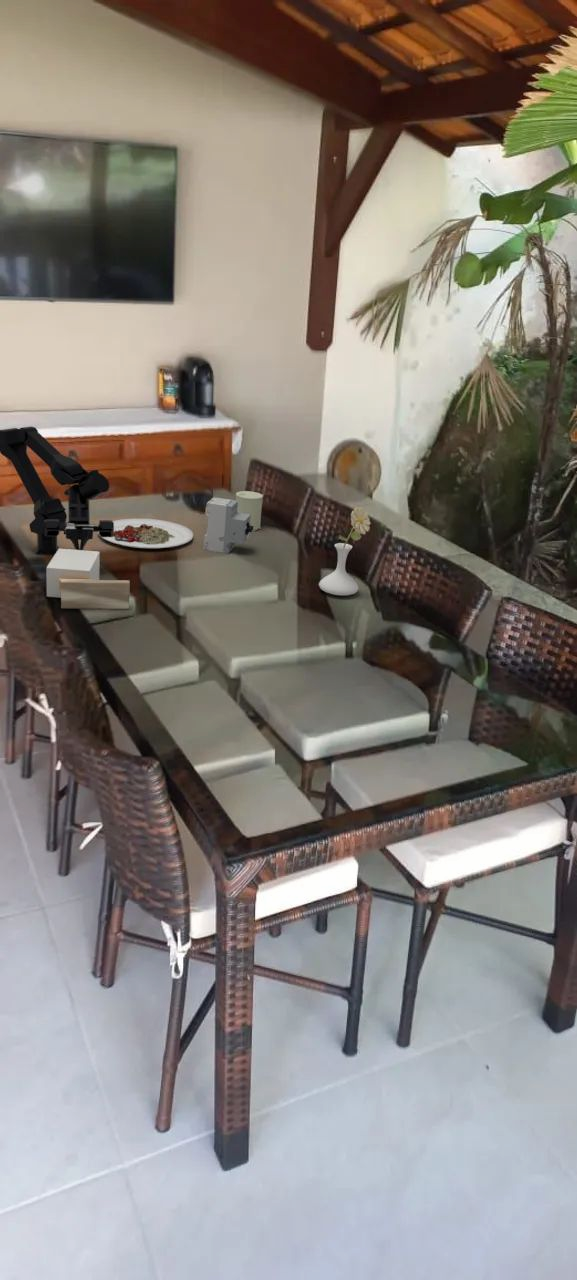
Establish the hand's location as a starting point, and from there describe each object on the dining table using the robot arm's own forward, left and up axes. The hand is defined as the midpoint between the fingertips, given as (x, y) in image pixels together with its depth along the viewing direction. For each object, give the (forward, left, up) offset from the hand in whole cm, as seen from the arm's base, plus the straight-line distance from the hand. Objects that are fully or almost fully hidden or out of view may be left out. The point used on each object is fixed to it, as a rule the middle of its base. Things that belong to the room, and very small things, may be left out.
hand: (79, 556), depth 253 cm
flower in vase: (+9, +73, -6) cm, 74 cm away
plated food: (-38, +21, -6) cm, 44 cm away
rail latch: (+18, -1, -3) cm, 18 cm away
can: (-51, +56, -6) cm, 76 cm away
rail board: (+22, +4, -6) cm, 23 cm away
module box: (+8, -2, -6) cm, 10 cm away
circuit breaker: (-27, +46, -6) cm, 53 cm away
